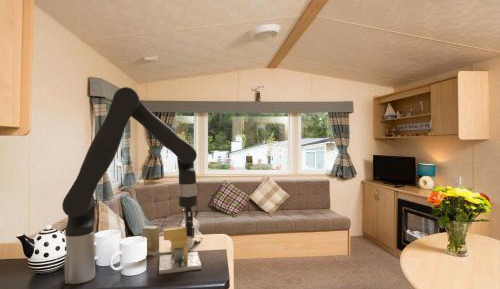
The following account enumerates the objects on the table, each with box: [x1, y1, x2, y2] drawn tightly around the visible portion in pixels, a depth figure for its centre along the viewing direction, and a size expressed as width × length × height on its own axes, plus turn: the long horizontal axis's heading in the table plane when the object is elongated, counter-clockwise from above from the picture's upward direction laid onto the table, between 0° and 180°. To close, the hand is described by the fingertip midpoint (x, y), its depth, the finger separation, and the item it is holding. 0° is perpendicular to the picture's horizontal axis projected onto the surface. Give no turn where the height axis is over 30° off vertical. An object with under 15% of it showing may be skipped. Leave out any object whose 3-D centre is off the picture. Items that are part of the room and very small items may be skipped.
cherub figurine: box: [168, 217, 203, 251], centre depth 153 cm, size 13×12×20 cm
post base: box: [158, 244, 202, 275], centre depth 128 cm, size 16×16×10 cm
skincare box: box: [142, 225, 160, 256], centre depth 140 cm, size 6×4×12 cm
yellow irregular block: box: [163, 226, 195, 248], centre depth 128 cm, size 12×6×7 cm, turn 105°
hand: (188, 233), depth 129 cm, fingers open, 8 cm apart
